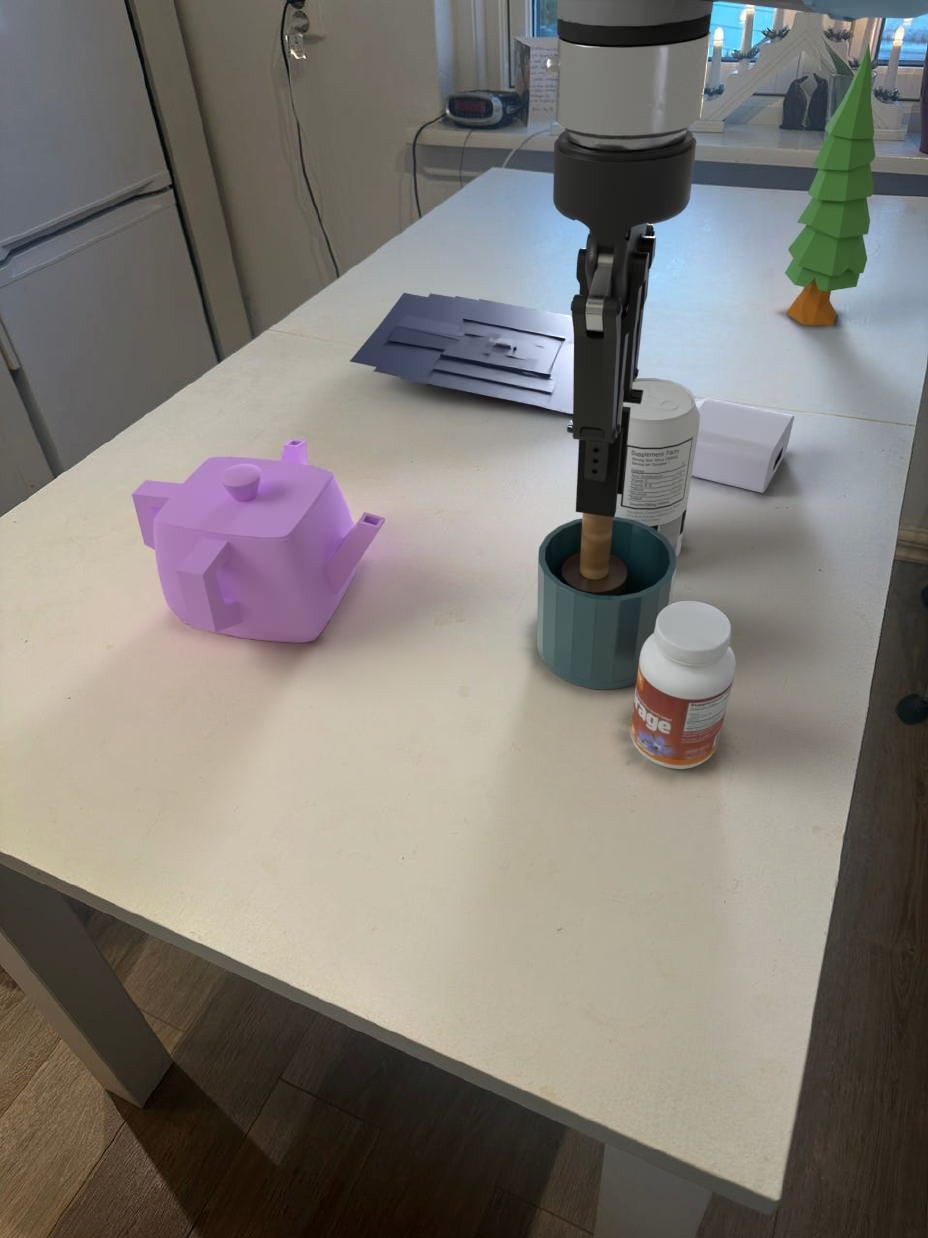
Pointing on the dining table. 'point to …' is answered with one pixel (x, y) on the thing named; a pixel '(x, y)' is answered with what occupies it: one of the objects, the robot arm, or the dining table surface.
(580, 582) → the brush
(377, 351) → the dark blue flat slab
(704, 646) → the pill bottle
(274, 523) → the teakettle
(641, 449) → the supplement can
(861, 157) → the decorative tree
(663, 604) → the jar
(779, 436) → the charger
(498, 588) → the dining table surface
